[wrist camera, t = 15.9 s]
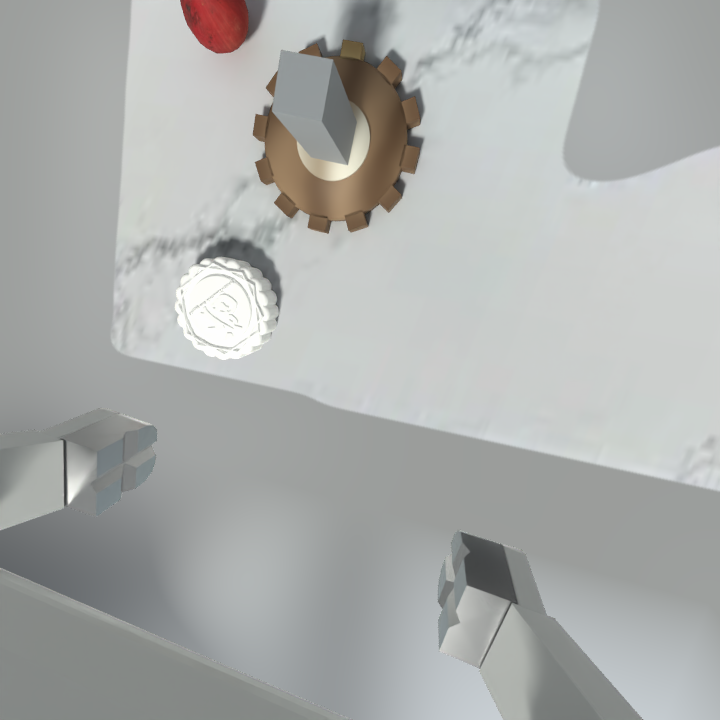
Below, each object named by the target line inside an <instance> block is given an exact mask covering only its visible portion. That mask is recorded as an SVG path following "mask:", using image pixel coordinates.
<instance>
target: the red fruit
mask: <svg viewBox="0 0 720 720" xmlns="http://www.w3.org/2000/svg"><path fill="white" fill-rule="evenodd" d="M180 2H181V6H182V10H183V13H184V17H185V20H186V22H187V25H188V27H189V28H190V30H191V31H192V33H193V34H194V35H195V37H196V38H197V39H198V41H199V42H200V43H201V44H202V45H203V46H205V47H206V48H208V49H209V50H211V51H213V52H215V53H231V52H233V51H234V50H236V49H238V48H239V47H240V46H241V45H242V43H243V42H244V41H245V38H246V35H247V32H248V10H247V6H246V3H245V0H180Z"/></svg>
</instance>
